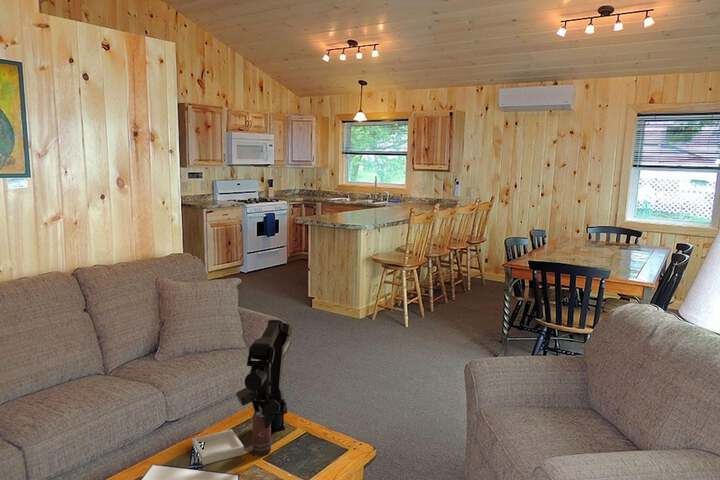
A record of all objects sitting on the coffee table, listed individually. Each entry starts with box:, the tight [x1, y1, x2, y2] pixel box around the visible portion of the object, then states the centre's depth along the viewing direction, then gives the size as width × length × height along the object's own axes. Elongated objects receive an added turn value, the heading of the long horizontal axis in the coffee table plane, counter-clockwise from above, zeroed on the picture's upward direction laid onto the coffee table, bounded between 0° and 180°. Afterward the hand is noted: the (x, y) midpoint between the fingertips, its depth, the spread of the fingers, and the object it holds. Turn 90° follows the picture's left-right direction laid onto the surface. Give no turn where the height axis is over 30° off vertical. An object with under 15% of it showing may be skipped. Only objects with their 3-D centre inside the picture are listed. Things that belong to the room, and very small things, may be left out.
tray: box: [191, 429, 245, 466], centre depth 181 cm, size 14×14×3 cm
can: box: [252, 410, 272, 457], centre depth 180 cm, size 6×6×14 cm
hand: (261, 422), depth 180 cm, fingers open, 9 cm apart
